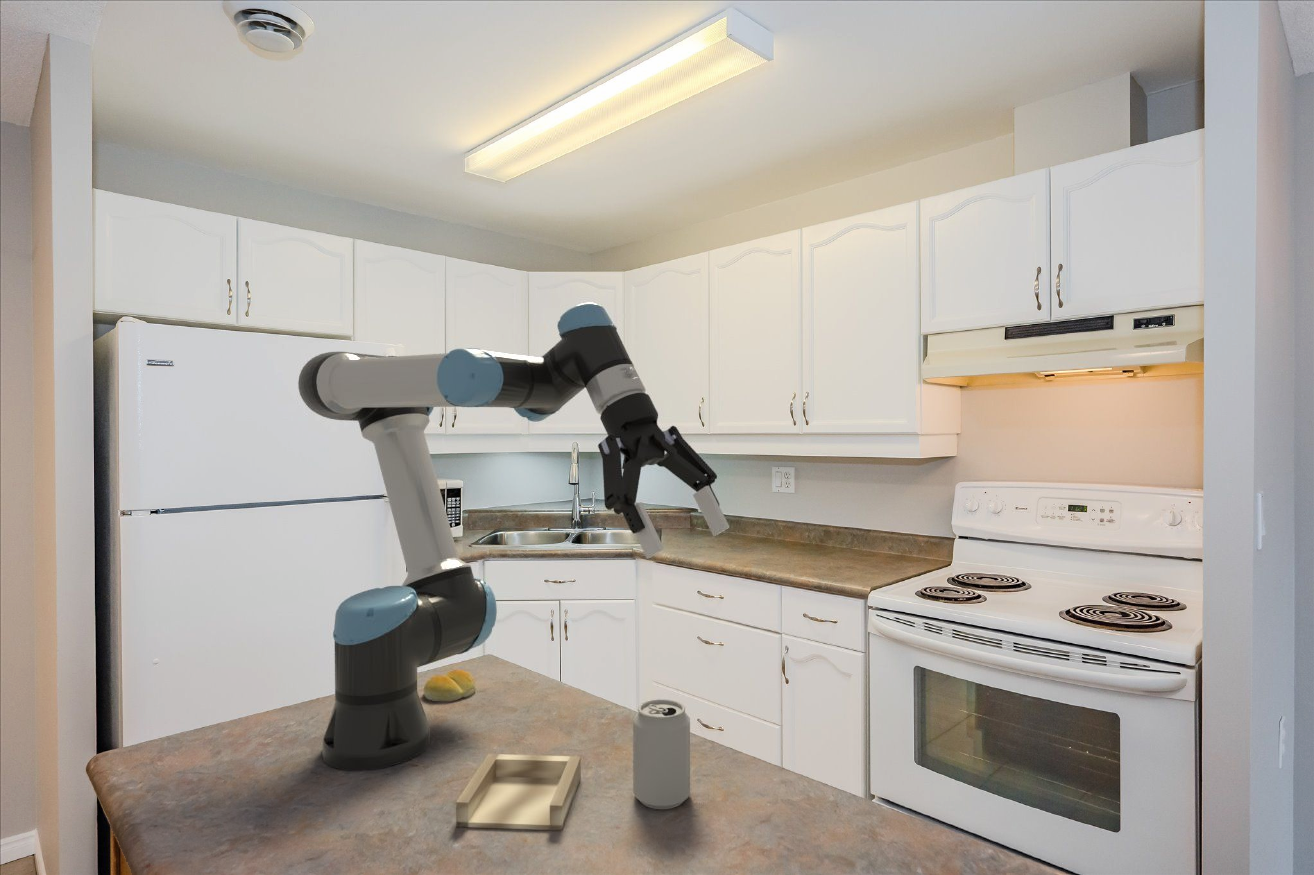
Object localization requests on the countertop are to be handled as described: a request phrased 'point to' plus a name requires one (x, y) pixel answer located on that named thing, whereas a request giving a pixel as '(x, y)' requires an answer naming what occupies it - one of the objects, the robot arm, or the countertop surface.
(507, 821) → the can rest
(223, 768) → the countertop surface
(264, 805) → the countertop surface
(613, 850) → the countertop surface
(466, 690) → the bread roll
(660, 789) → the can
